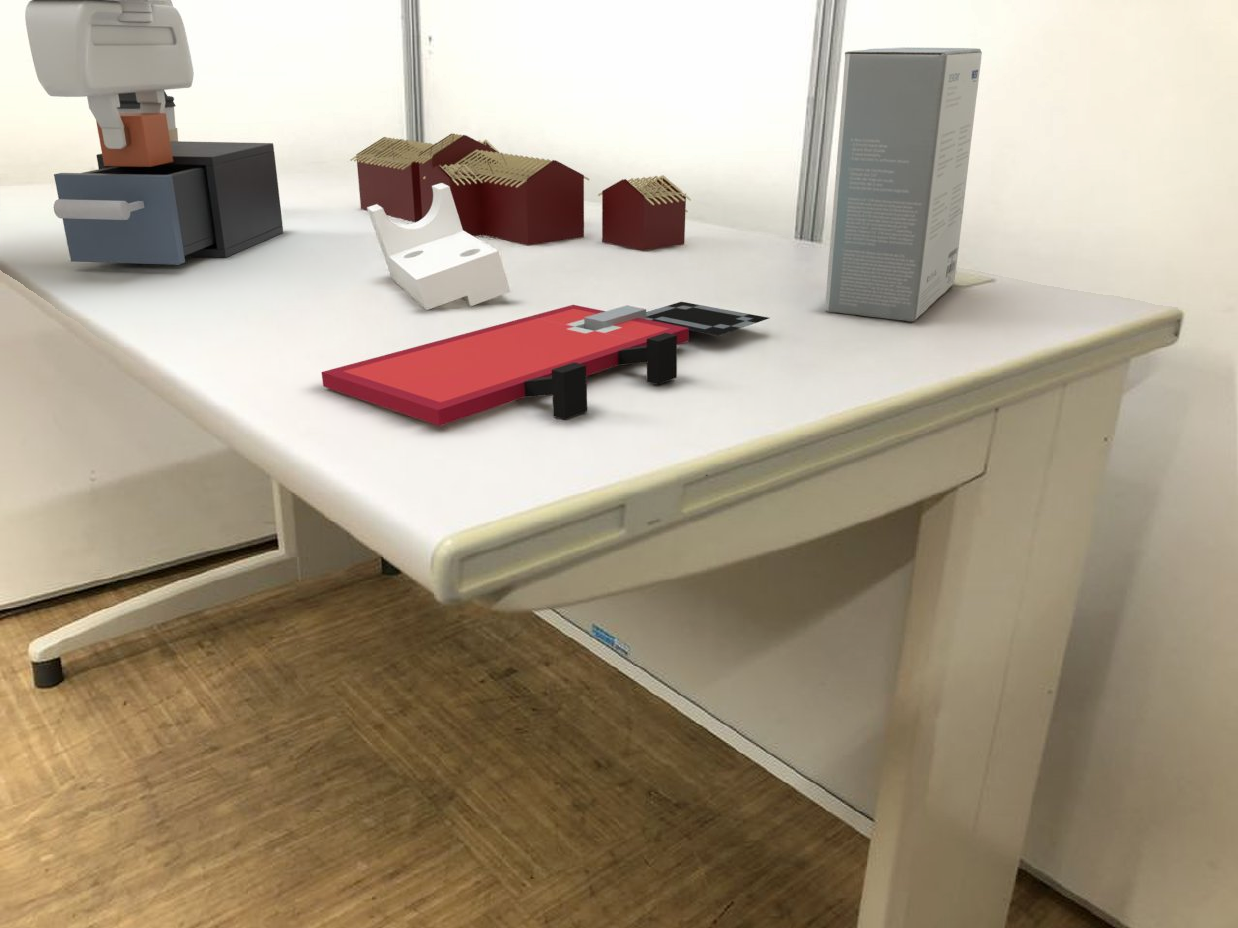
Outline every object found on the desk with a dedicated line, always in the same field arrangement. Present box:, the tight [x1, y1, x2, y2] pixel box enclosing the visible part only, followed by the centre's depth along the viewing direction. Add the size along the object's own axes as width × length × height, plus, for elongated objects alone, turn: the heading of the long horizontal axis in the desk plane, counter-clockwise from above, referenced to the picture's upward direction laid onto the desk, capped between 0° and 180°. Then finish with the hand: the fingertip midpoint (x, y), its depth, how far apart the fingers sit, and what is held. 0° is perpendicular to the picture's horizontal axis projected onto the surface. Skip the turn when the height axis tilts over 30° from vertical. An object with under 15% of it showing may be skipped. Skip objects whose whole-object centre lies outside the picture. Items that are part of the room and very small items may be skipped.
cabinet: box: [96, 140, 284, 259], centre depth 106 cm, size 15×12×10 cm
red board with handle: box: [321, 301, 770, 427], centre depth 69 cm, size 30×3×15 cm
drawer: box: [53, 164, 216, 266], centre depth 97 cm, size 18×10×8 cm, turn 175°
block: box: [95, 113, 173, 167], centre depth 94 cm, size 4×4×4 cm
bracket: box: [366, 183, 511, 311], centre depth 87 cm, size 13×7×8 cm, turn 24°
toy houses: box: [349, 133, 692, 252], centre depth 118 cm, size 45×20×10 cm, turn 42°
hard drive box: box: [824, 46, 983, 322], centre depth 84 cm, size 16×8×20 cm, turn 152°
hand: (135, 145), depth 95 cm, fingers closed on block, 4 cm apart
